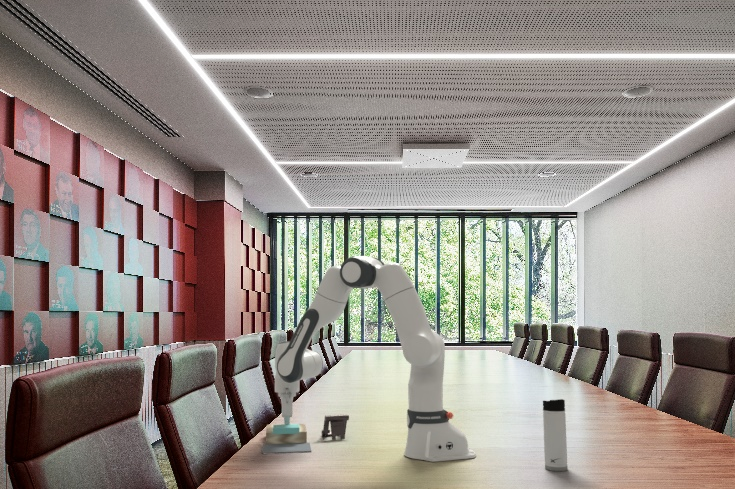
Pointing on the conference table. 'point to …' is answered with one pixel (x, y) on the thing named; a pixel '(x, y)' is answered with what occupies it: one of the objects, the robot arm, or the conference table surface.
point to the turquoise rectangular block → (286, 429)
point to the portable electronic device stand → (335, 426)
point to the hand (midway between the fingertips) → (286, 426)
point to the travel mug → (555, 435)
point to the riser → (286, 436)
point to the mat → (286, 448)
